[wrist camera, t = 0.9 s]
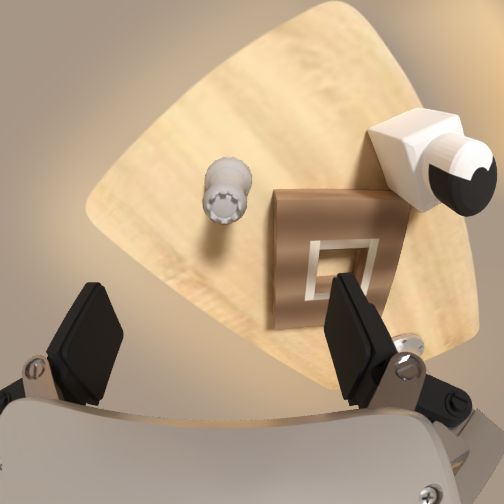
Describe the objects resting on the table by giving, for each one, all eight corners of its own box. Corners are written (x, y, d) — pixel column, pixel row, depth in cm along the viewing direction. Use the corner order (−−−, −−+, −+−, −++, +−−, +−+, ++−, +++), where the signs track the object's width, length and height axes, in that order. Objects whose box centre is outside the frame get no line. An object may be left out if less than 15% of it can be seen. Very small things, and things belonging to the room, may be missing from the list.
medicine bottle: (434, 164, 25) (507, 205, 15) (387, 188, 27) (453, 242, 17) (417, 106, 22) (499, 124, 12) (365, 128, 24) (439, 154, 13)
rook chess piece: (222, 207, 28) (216, 247, 21) (196, 172, 26) (179, 201, 19) (260, 184, 26) (268, 216, 20) (235, 146, 24) (232, 165, 18)
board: (373, 303, 35) (380, 318, 33) (272, 312, 35) (274, 329, 32) (398, 191, 27) (412, 200, 24) (273, 189, 27) (277, 200, 24)
